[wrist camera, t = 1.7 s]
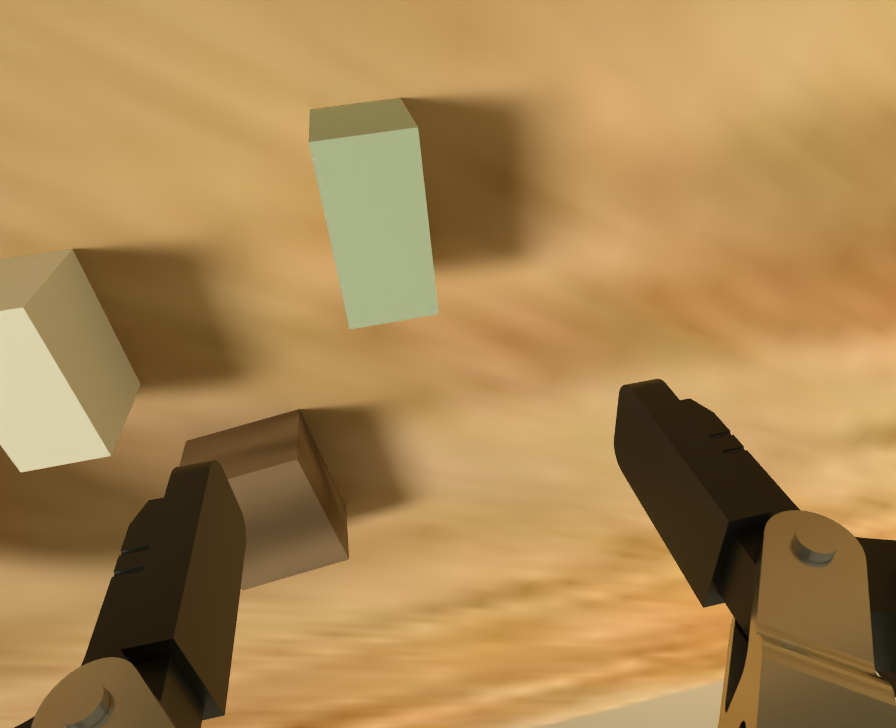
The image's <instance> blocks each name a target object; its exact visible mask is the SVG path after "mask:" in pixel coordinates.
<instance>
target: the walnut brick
mask: <svg viewBox="0 0 896 728" xmlns="http://www.w3.org/2000/svg"><path fill="white" fill-rule="evenodd" d="M212 460H217V461H219V463H220V464H221V466H222V468H223V470H224V472H225V474H226V477H227V479H228V481H229V484H230V486H231V488H232V490H233V493H234V495H235V497H236V500H237V502H238V504H239V506H240V509H241V511H242V514H243V517H244V521H245V528H246V549H245V557H244V565H243V573H242V581H241V589H242V590H245V589H249V588H252V587H256V586H259V585H262V584H266V583H269V582H273V581H276V580H280V579H283V578H286V577H290V576H293V575H297V574H300V573H304V572H307V571H310V570H314V569H317V568H321V567H324V566H328V565H331V564H334V563H338V562H341V561H345V560H348V559H349V551H348V533H347V515H346V506H345V504H344V502H343V500H342V498H341V496H340V493H339V491H338V489H337V487H336V485H335V483H334V481H333V479H332V477H331V475H330V473H329V471H328V469H327V466H326V464H325V462H324V460H323V458H322V456H321V454H320V452H319V450H318V448H317V446H316V444H315V442H314V439H313V437H312V435H311V433H310V431H309V429H308V427H307V425H306V423H305V421H304V419H303V417H302V415H301V412H300V410H299V409H298V410H295V411H291V412H288V413H284V414H281V415H277V416H273V417H270V418H266V419H263V420H259V421H256V422H252V423H249V424H245V425H242V426H238V427H234V428H231V429H227V430H224V431H220V432H217V433H213V434H210V435H206V436H203V437H199V438H195V439H192V440H188V441H186V444H185V448H184V452H183V455H182V459H181V463H180V466H185V465H191V464H196V463H202V462H207V461H212ZM180 466H179V467H180Z"/></svg>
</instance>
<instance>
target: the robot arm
mask: <svg viewBox="0 0 896 728" xmlns="http://www.w3.org/2000/svg"><path fill="white" fill-rule="evenodd" d="M614 449H615V455H616V459H617V462H618V465H619V467H620V469H621V471H622V473H623V474H624V476H625V478H626V479H627V481H628V483H629V484H630V486H631V488H632V489H633V491H634V493H635V494H636V496H637V498H638V499H639V501H640V503H641V504H642V506H643V508H644V509H645V511H646V513H647V514H648V516H649V518H650V519H651V521H652V523H653V524H654V526H655V528H656V529H657V531H658V533H659V534H660V536H661V538H662V539H663V541H664V543H665V544H666V546H667V548H668V549H669V551H670V553H671V554H672V556H673V558H674V559H675V561H676V563H677V565H678V566H679V568H680V570H681V571H682V573H683V575H684V576H685V578H686V580H687V581H688V583H689V585H690V586H691V588H692V590H693V591H694V593H695V595H696V596H697V598H698V600H699V601H700V603H701V605H702V606H703V608H704V607H708V606H712V605H717V604H721V603H726V605H727V607H728V608H729V610H730V611H731V613H732V614H733V619H732V622H731V627H730V635H729V643H728V651H727V660H726V668H725V676H724V684H723V693H722V701H721V709H720V717H719V723H718V728H896V701H895V697H896V540H882V539H869V538H859V537H854V536H853V534H851V533H850V532H849V531H848V530H847V529H846V528H844V527H843V526H841V525H840V524H839V523H837V522H835V521H833V520H831V519H829V518H827V517H825V516H823V515H820V514H816V513H813V512H808V511H801V510H800V509H799V508H798V507H797V506H796V505H795V504H794V503H793V502H792V501H791V499H790V498H789V497H788V496H787V495H786V494H785V493H784V492H783V490H782V489H781V488H780V487H779V486H778V485H777V484H776V483H775V481H774V480H773V479H772V478H771V477H770V476H769V475H768V473H767V472H766V471H765V470H764V469H763V468H762V467H761V466H760V464H759V463H758V462H757V461H756V460H755V459H754V458H753V456H752V455H751V454H750V453H749V452H748V451H747V450H746V451H745V450H744V446H743V445H742V444H741V443H740V442H739V441H738V439H737V438H736V437H735V436H734V435H731V434H730V430H729V429H728V428H727V427H726V426H725V425H724V424H723V422H722V421H721V420H720V419H719V418H718V417H717V416H716V415H715V413H714V412H712V411H710V410H708V409H707V408H705V407H703V406H702V405H700V404H698V403H697V402H695V401H693V400H692V399H685V400H679V399H678V398H677V396H676V395H675V394H674V393H673V392H672V390H671V389H670V388H669V387H668V386H667V384H666V383H665V382H664V381H663V380H661V379H654V380H648V381H643V382H638V383H632V384H627V385H623V386H622V387H621V389H620V391H619V399H618V408H617V417H616V426H615V435H614ZM245 549H246V528H245V521H244V517H243V514H242V511H241V509H240V506H239V504H238V502H237V500H236V497H235V495H234V493H233V490H232V488H231V486H230V484H229V481H228V479H227V477H226V474H225V472H224V470H223V468H222V466H221V464H220V463H219V461H217V460H212V461H207V462H202V463H196V464H191V465H185V466H180V467H176V468H174V469H173V471H172V473H171V476H170V479H169V482H168V486H167V489H166V493H165V496H164V498H159V499H154V500H149V501H148V502H147V503H146V504H145V506H144V507H143V508H142V510H141V511H140V512H139V513H138V515H137V516H136V517H135V518H134V520H133V521H132V522H131V524H130V525H129V528H128V531H127V534H126V537H125V540H124V543H123V546H122V548H121V555H119V557H118V560H117V563H116V566H115V569H114V577H112V578H111V581H110V584H109V587H108V590H107V593H106V596H105V599H104V602H103V605H102V608H101V611H100V614H99V617H98V619H97V622H96V625H95V628H94V631H93V634H92V637H91V640H90V643H89V646H88V649H87V652H86V655H85V658H84V660H83V663H82V665H81V667H79V668H77V669H76V670H74V671H73V672H71V673H70V674H68V675H67V676H66V677H65V678H64V679H62V680H61V681H60V682H59V683H58V684H57V685H56V686H55V687H54V688H53V689H52V690H51V691H50V693H49V694H48V695H47V696H46V698H45V699H44V701H43V702H42V704H41V705H40V707H39V709H38V711H37V713H36V715H35V716H34V717H33V718H31V719H29V720H28V721H26V722H24V723H22V724H21V725H19V726H17V727H15V728H201V723H202V720H206V719H210V718H215V717H219V716H223V715H225V708H226V700H227V692H228V684H229V676H230V668H231V660H232V652H233V644H234V636H235V629H236V621H237V613H238V605H239V597H240V589H241V581H242V573H243V565H244V557H245ZM875 671H877V672H878V673H879V675H880V676H881V677H879V676H877V674H876V672H875Z"/></svg>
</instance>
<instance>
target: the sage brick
mask: <svg viewBox="0 0 896 728" xmlns="http://www.w3.org/2000/svg"><path fill="white" fill-rule="evenodd" d="M309 146H310V150H311V155H312V159H313V164H314V168H315V173H316V178H317V182H318V187H319V191H320V196H321V200H322V205H323V209H324V214H325V219H326V223H327V228H328V232H329V237H330V241H331V246H332V251H333V255H334V260H335V264H336V269H337V273H338V278H339V282H340V287H341V292H342V296H343V301H344V305H345V310H346V314H347V319H348V324H349V328H350V329H355V328H361V327H367V326H372V325H378V324H384V323H390V322H396V321H402V320H408V319H413V318H419V317H425V316H431V315H437V314H439V311H438V302H437V293H436V284H435V275H434V266H433V257H432V248H431V239H430V230H429V221H428V212H427V203H426V194H425V185H424V176H423V167H422V158H421V149H420V140H419V131H418V126H417V125H416V123H415V121H414V120H413V118H412V116H411V115H410V113H409V111H408V110H407V108H406V106H405V105H404V103H403V102H402V100H401V98H395V99H388V100H380V101H372V102H365V103H357V104H350V105H342V106H335V107H327V108H319V109H312V110H310V125H309Z"/></svg>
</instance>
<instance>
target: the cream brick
mask: <svg viewBox="0 0 896 728" xmlns="http://www.w3.org/2000/svg"><path fill="white" fill-rule="evenodd" d="M140 385H141V384H140V382H139V380H138V378H137V376H136V374H135V372H134V370H133V368H132V366H131V364H130V362H129V360H128V358H127V356H126V354H125V352H124V350H123V348H122V346H121V344H120V342H119V340H118V338H117V336H116V334H115V332H114V330H113V328H112V326H111V324H110V322H109V320H108V318H107V316H106V314H105V312H104V311H103V309H102V307H101V305H100V303H99V301H98V299H97V297H96V295H95V293H94V291H93V289H92V287H91V285H90V283H89V281H88V279H87V277H86V275H85V273H84V271H83V269H82V267H81V265H80V263H79V261H78V259H77V257H76V255H75V253H74V251H73V249H68V250H61V251H55V252H48V253H41V254H35V255H28V256H21V257H15V258H8V259H1V260H0V445H1V446H2V448H3V449H4V451H5V452H6V453H7V455H8V456H9V457H10V459H11V460H12V461H13V463H14V464H15V465H16V467H17V468H18V470H19V471H20V472H26V471H32V470H37V469H43V468H48V467H53V466H59V465H64V464H70V463H75V462H81V461H86V460H91V459H97V458H102V457H108V456H111V455H112V452H113V450H114V448H115V445H116V443H117V440H118V438H119V436H120V433H121V431H122V428H123V426H124V424H125V421H126V419H127V416H128V414H129V412H130V409H131V407H132V404H133V402H134V400H135V397H136V395H137V392H138V390H139V388H140Z"/></svg>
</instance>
